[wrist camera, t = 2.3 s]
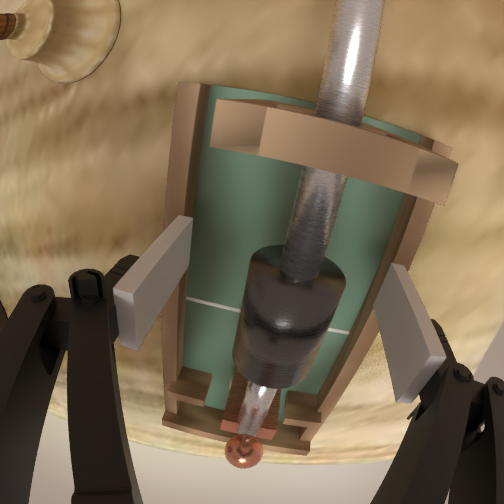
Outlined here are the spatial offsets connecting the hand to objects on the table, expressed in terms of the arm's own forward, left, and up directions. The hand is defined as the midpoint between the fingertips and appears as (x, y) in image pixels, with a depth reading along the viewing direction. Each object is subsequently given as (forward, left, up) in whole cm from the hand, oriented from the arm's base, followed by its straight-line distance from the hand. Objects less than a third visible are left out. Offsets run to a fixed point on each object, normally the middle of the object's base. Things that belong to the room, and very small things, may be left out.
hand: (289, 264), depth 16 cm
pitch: (0, -7, -6) cm, 9 cm away
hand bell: (-18, +12, -6) cm, 22 cm away
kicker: (0, +4, -4) cm, 6 cm away
